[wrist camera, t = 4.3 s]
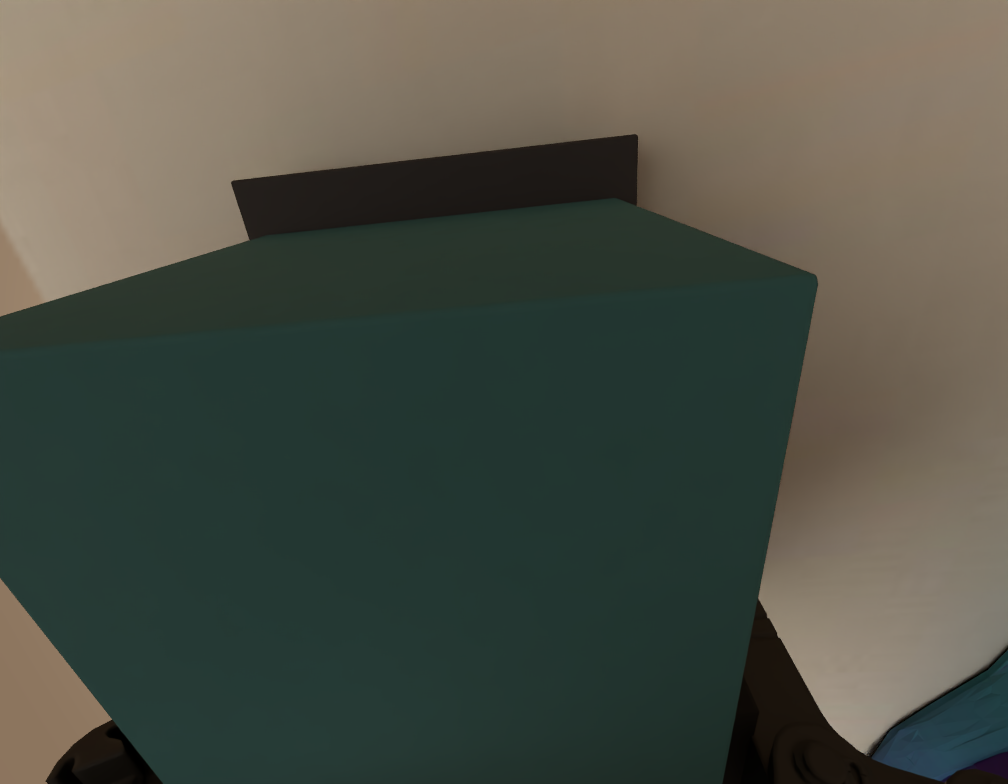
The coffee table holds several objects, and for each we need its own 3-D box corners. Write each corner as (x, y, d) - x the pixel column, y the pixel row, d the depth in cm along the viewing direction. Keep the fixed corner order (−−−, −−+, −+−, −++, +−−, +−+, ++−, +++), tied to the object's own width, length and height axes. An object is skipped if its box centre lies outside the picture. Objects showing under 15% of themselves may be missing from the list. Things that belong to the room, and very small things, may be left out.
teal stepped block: (267, 178, 10) (-342, 224, 3) (621, 137, 10) (932, 73, 2) (419, 693, 18) (355, 1047, 11) (617, 685, 18) (688, 1050, 10)
